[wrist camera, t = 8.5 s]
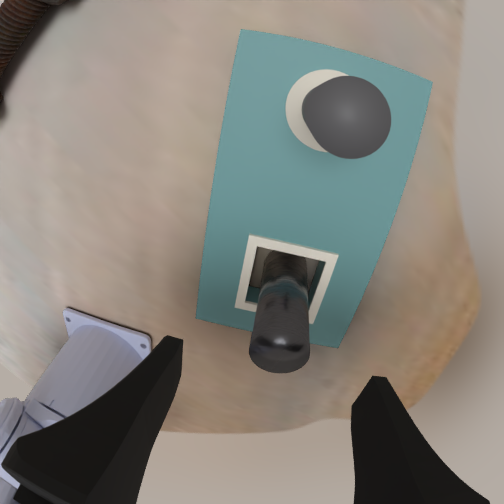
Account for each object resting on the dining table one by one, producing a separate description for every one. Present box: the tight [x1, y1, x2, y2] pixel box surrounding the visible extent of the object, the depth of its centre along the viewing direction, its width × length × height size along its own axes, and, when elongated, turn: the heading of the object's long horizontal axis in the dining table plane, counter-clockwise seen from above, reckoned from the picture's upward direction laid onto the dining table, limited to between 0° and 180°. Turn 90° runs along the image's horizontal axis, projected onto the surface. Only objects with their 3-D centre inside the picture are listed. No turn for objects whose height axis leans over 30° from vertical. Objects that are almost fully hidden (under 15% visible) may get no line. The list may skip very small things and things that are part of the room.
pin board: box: [196, 29, 433, 348], centre depth 13 cm, size 16×9×7 cm, turn 169°
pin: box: [249, 250, 310, 373], centre depth 15 cm, size 2×2×7 cm
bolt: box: [0, 0, 67, 102], centre depth 10 cm, size 6×5×15 cm
